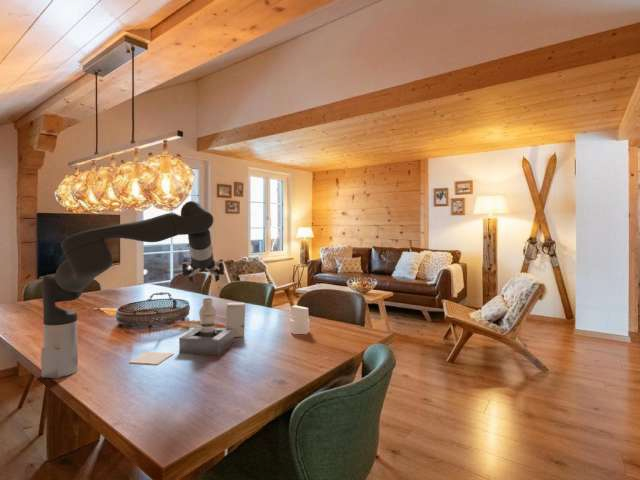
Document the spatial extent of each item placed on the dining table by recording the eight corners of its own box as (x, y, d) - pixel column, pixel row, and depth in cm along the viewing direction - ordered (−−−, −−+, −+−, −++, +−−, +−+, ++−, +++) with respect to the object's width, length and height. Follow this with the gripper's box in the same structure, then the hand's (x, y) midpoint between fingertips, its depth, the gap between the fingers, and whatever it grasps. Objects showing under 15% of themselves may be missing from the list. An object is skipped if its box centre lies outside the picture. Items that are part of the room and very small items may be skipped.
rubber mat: (157, 364, 131) (157, 363, 131) (129, 363, 132) (129, 362, 132) (173, 354, 141) (173, 353, 141) (147, 352, 143) (147, 351, 143)
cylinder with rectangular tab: (313, 332, 174) (313, 307, 173) (299, 336, 167) (299, 310, 166) (299, 328, 180) (299, 304, 179) (286, 332, 173) (286, 307, 172)
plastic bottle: (211, 350, 146) (211, 301, 145) (195, 349, 147) (196, 300, 146) (219, 345, 152) (219, 298, 151) (204, 344, 153) (204, 297, 153)
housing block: (218, 355, 141) (218, 340, 140) (179, 353, 143) (179, 338, 142) (233, 342, 157) (233, 328, 156) (198, 340, 159) (198, 326, 158)
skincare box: (226, 338, 163) (226, 304, 162) (225, 334, 168) (225, 302, 168) (245, 336, 165) (245, 304, 165) (243, 332, 171) (244, 301, 170)
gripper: (178, 260, 122) (183, 289, 133) (222, 259, 125) (224, 287, 136) (180, 243, 127) (185, 272, 138) (223, 243, 130) (224, 271, 141)
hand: (204, 280), depth 137 cm, fingers open, 8 cm apart
